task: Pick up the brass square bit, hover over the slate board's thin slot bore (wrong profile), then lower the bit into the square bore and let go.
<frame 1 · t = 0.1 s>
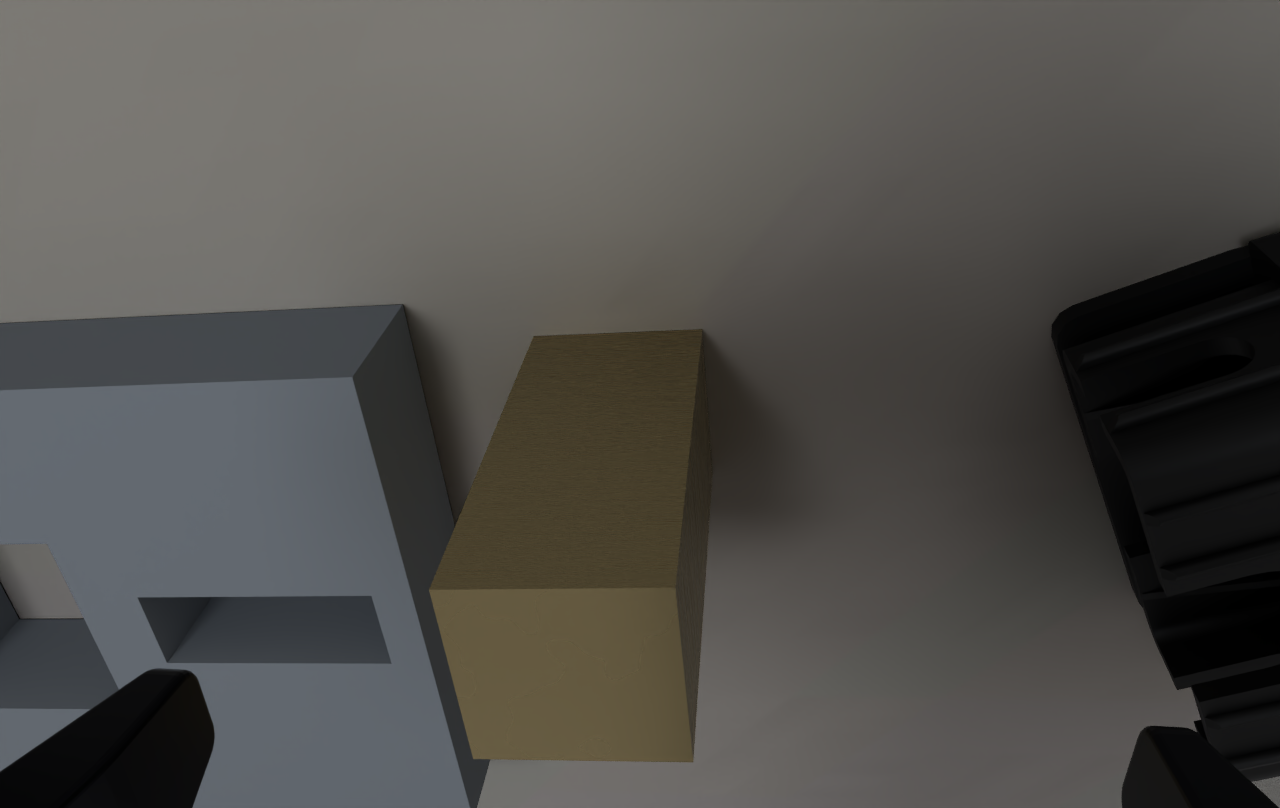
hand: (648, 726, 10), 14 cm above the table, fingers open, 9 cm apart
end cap: (1248, 416, 24), on the table
brass square bit: (625, 406, 25), on the table
slate bore board: (182, 543, 29), on the table
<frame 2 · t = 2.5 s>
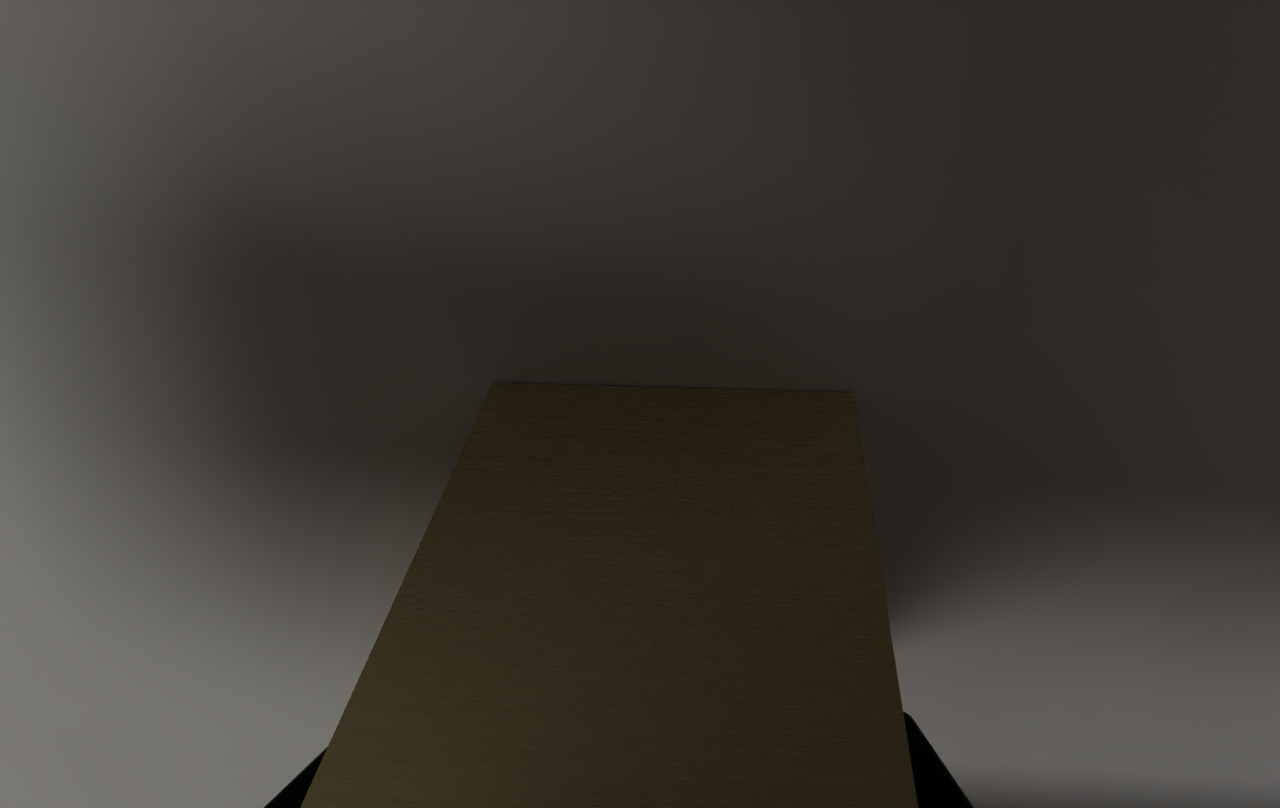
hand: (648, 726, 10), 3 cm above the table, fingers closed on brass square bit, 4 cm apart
brass square bit: (671, 531, 12), on the table, touching gripper
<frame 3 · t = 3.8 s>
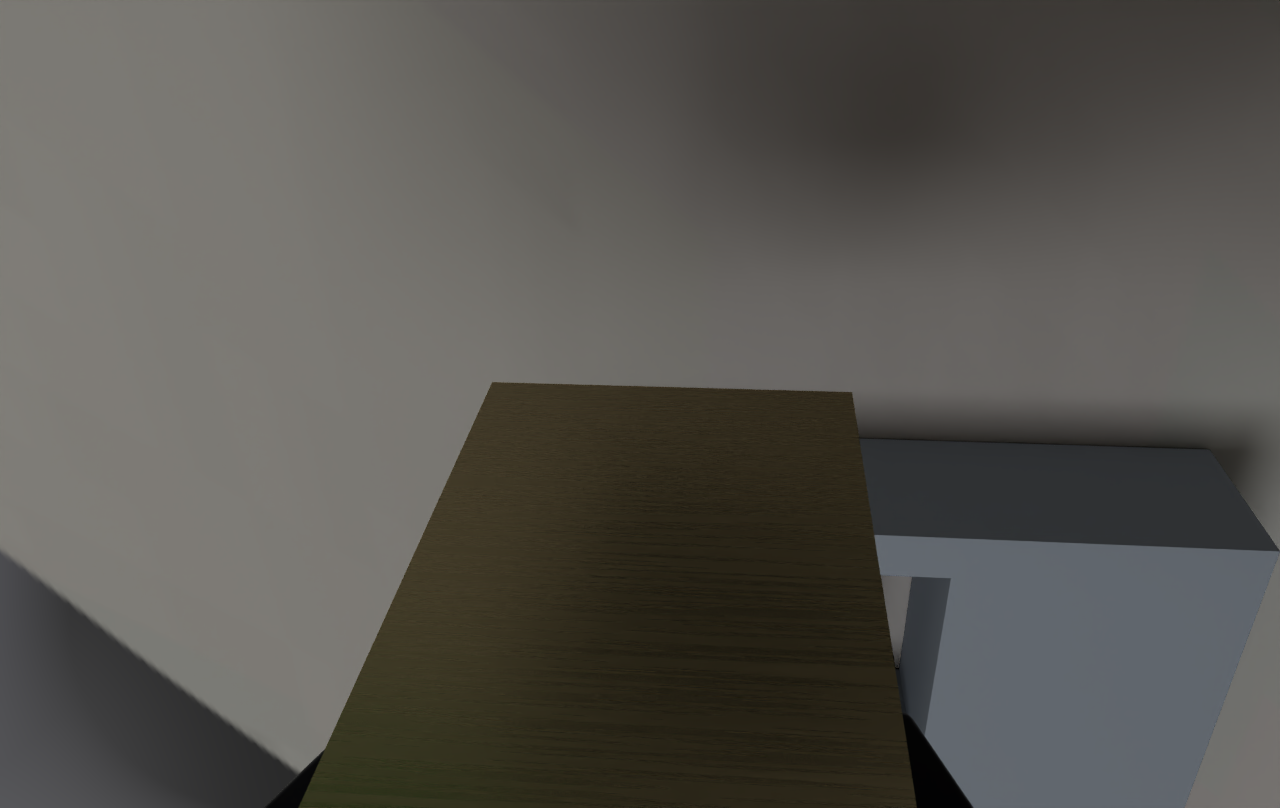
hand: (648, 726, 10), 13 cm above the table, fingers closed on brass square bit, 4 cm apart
brass square bit: (670, 530, 12), point 10 cm above the table, touching gripper
slate bore board: (852, 694, 27), on the table
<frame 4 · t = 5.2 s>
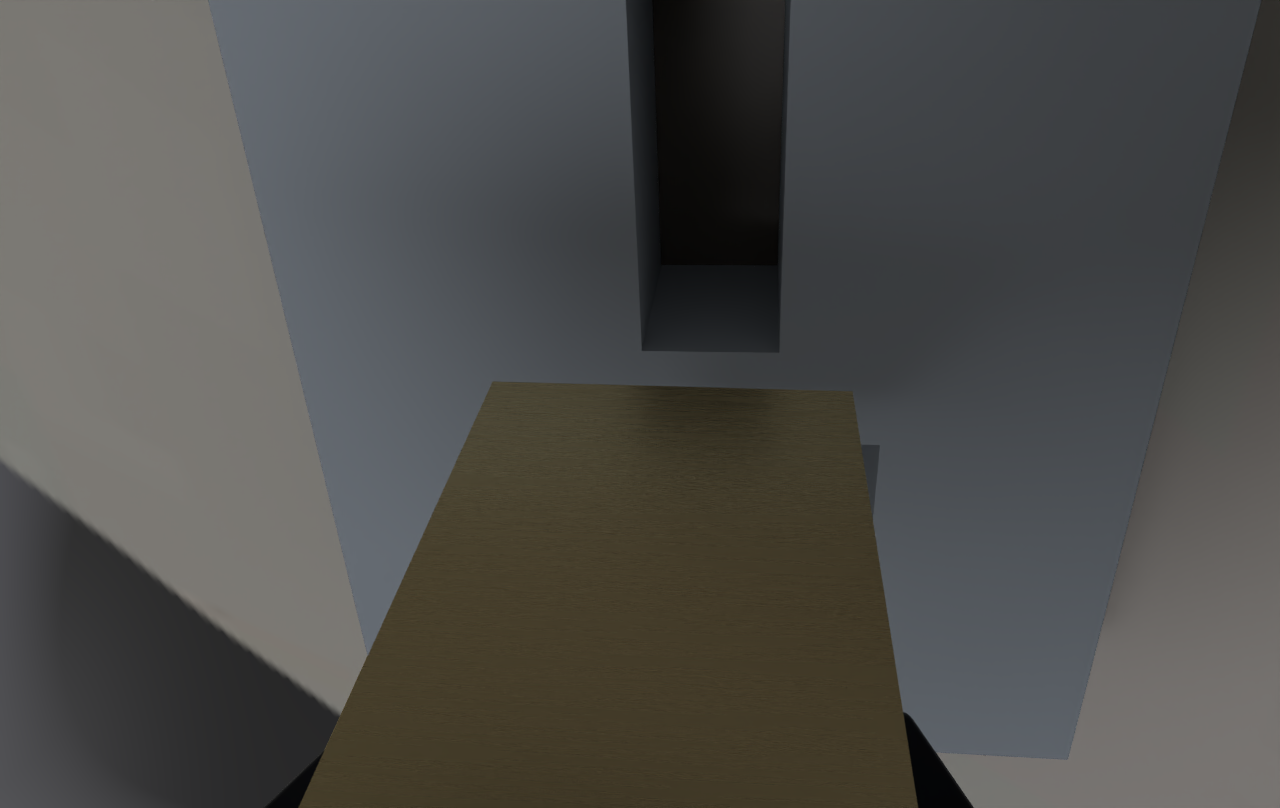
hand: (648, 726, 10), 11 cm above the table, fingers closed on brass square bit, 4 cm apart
brass square bit: (671, 529, 12), point 8 cm above the table, touching gripper
slate bore board: (719, 312, 20), on the table
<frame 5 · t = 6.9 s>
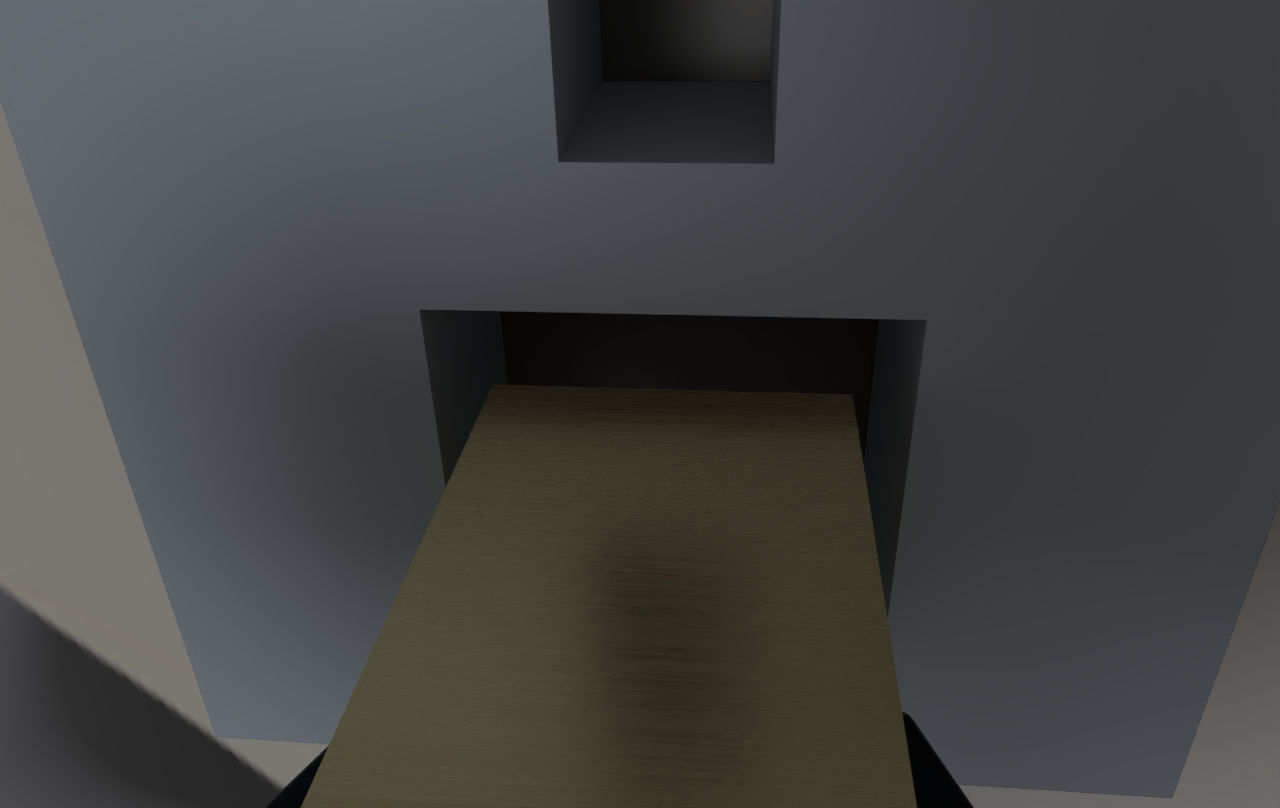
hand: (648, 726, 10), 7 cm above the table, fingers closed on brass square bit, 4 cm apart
brass square bit: (671, 532, 12), point 4 cm above the table, touching gripper
slate bore board: (685, 156, 14), on the table
when the fingers open (4 cm above the table, at t = 8.2 s): brass square bit drops 1 cm, resting in slate bore board.
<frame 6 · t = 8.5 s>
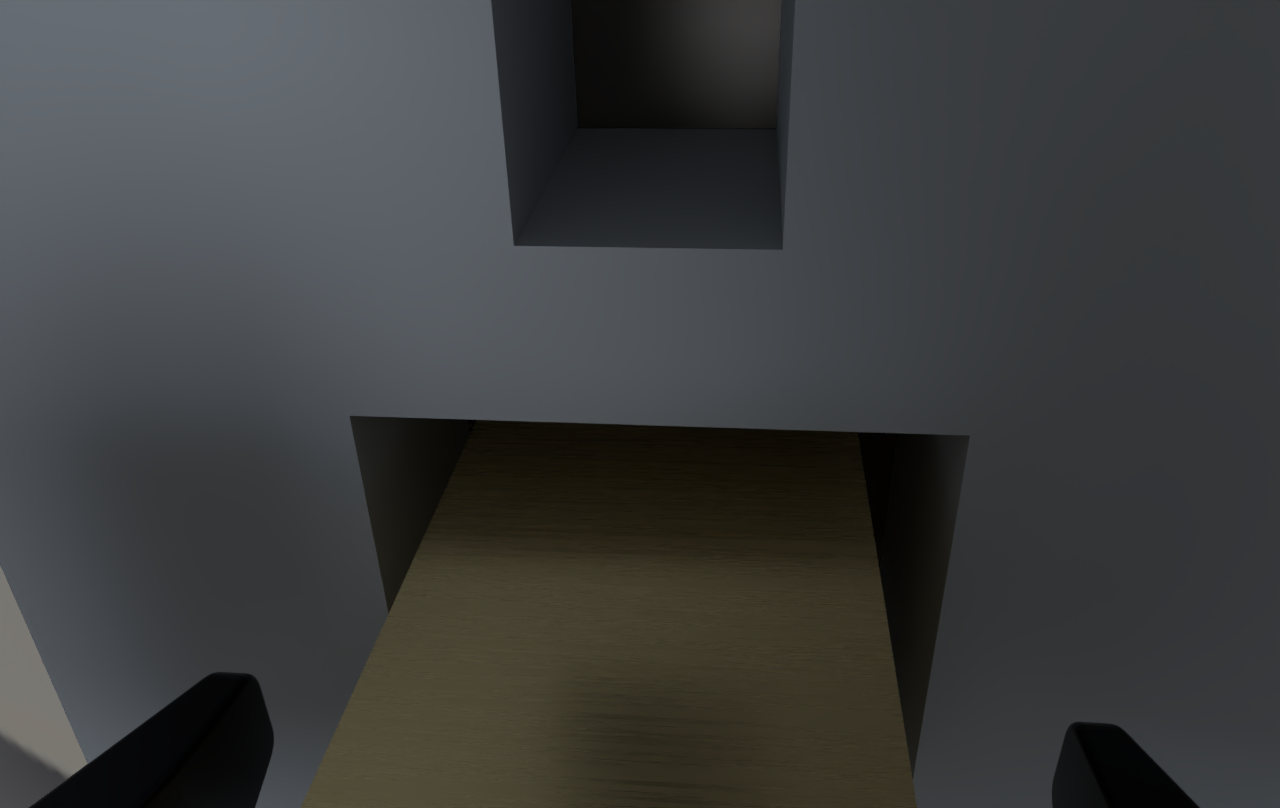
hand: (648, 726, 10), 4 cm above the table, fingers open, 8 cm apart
brass square bit: (679, 464, 14), resting in slate bore board
slate bore board: (676, 215, 12), on the table
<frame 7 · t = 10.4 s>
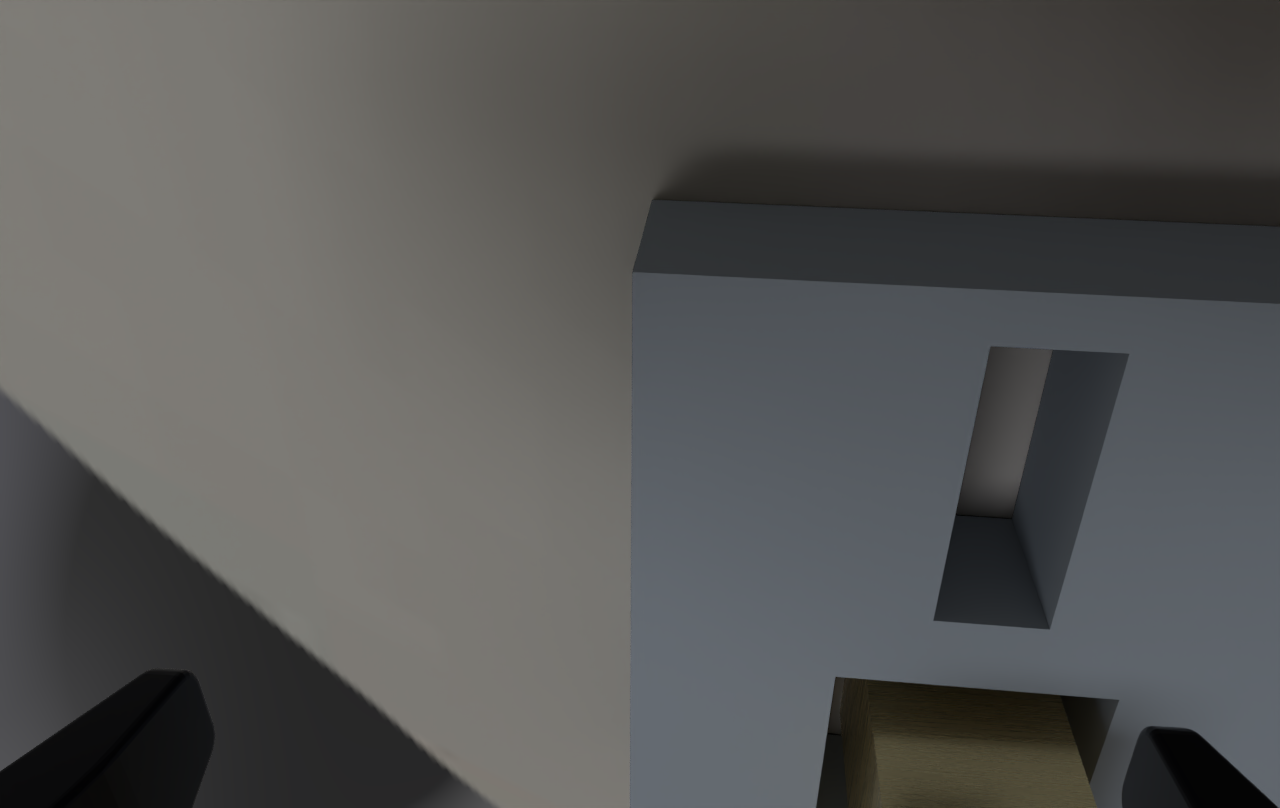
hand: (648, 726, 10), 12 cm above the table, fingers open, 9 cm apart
brass square bit: (930, 662, 25), resting in slate bore board
slate bore board: (953, 551, 23), on the table
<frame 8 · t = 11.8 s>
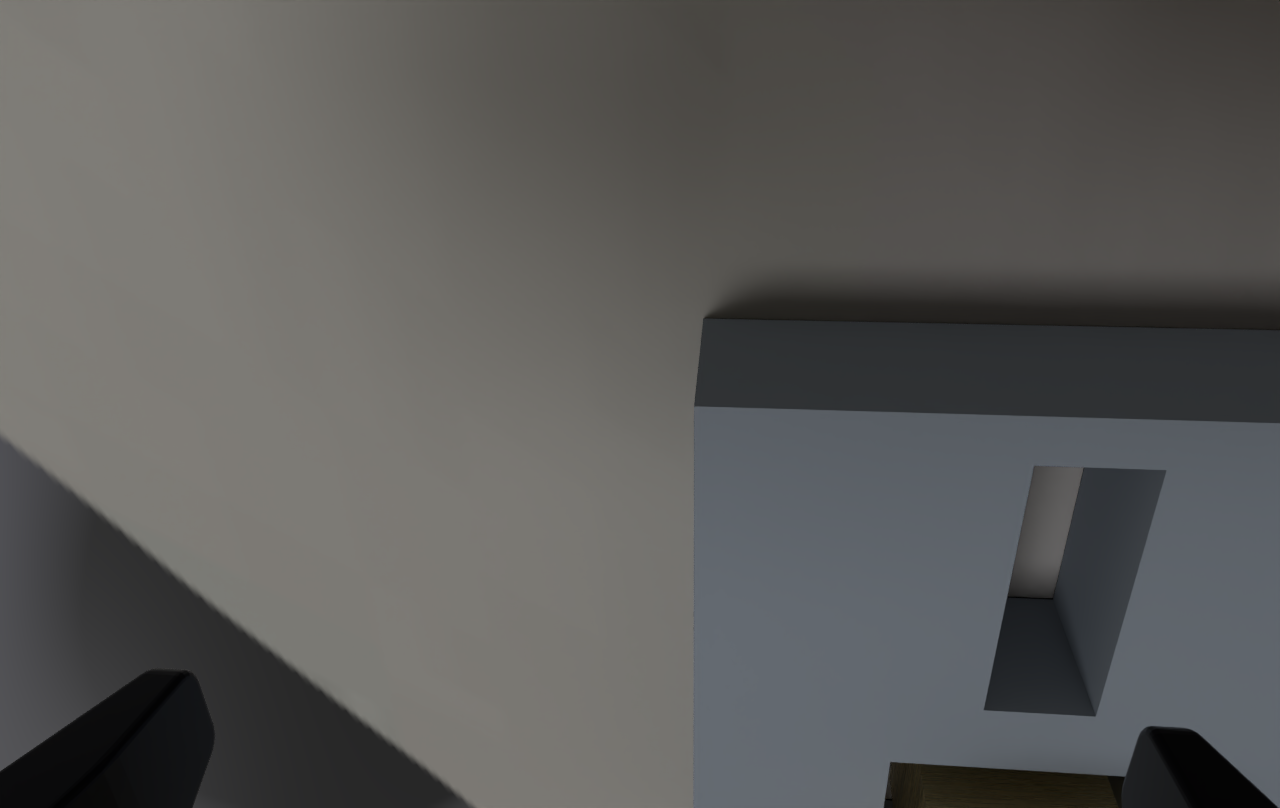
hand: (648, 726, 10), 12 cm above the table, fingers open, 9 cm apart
brass square bit: (976, 731, 26), resting in slate bore board
slate bore board: (997, 629, 24), on the table
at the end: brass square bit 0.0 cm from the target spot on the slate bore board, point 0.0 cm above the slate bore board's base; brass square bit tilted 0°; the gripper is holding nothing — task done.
